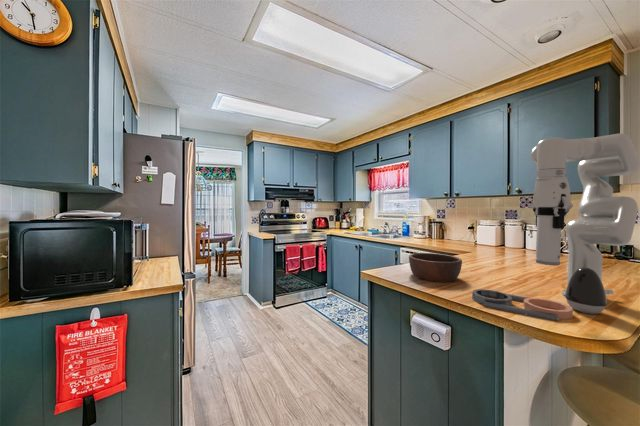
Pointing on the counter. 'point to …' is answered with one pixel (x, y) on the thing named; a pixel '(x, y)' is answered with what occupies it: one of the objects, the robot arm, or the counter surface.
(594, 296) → the dark gray tall dome
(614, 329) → the counter surface
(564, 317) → the marked socket
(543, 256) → the travel mug
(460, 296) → the counter surface
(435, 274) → the wooden bowl
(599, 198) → the robot arm
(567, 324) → the counter surface
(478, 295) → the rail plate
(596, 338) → the counter surface
